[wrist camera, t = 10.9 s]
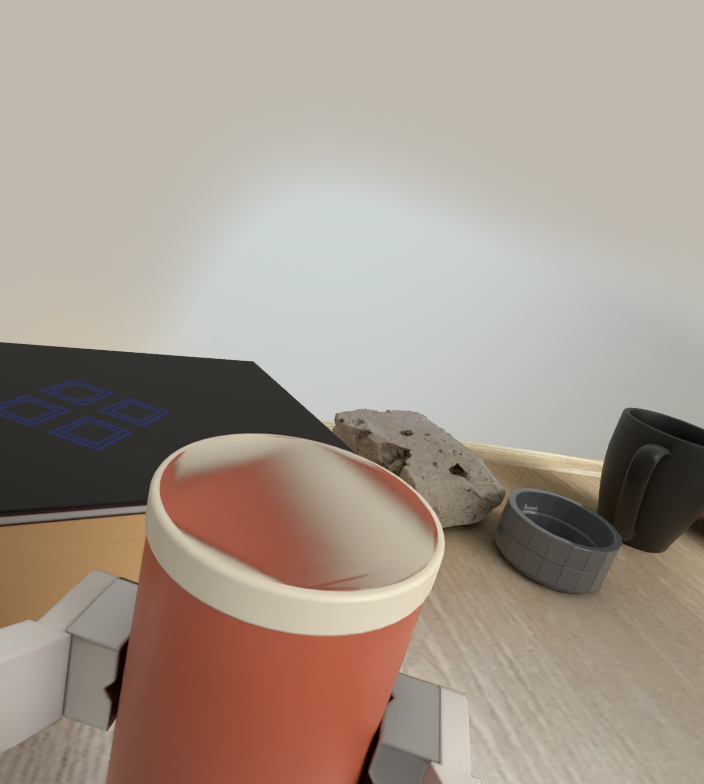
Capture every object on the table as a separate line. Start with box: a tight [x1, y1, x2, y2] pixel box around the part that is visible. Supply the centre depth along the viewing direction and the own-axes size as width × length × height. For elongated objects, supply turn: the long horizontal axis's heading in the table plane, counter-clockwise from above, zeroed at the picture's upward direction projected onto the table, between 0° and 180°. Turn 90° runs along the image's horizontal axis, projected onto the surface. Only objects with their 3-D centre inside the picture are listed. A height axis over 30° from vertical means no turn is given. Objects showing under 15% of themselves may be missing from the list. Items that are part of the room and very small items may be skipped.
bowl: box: [494, 488, 623, 594], centre depth 36 cm, size 7×7×4 cm
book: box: [0, 342, 359, 629], centre depth 27 cm, size 17×25×7 cm
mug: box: [597, 408, 704, 553], centre depth 42 cm, size 8×12×10 cm
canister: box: [106, 434, 445, 784], centre depth 10 cm, size 4×4×10 cm
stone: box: [333, 409, 505, 528], centre depth 41 cm, size 13×6×10 cm
